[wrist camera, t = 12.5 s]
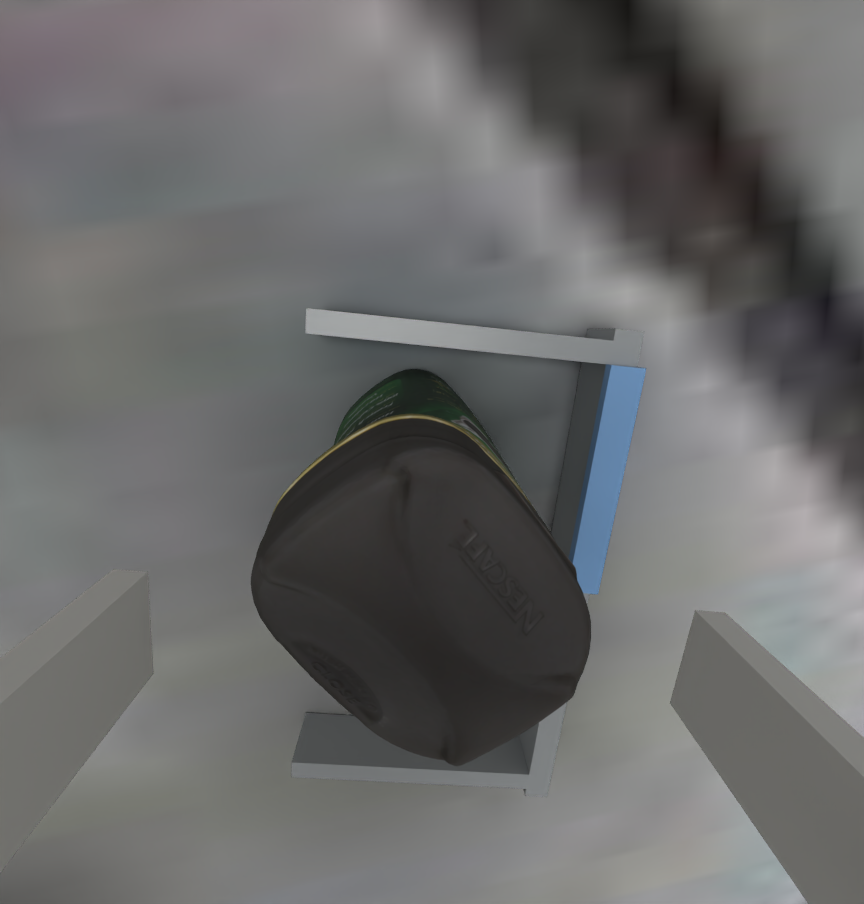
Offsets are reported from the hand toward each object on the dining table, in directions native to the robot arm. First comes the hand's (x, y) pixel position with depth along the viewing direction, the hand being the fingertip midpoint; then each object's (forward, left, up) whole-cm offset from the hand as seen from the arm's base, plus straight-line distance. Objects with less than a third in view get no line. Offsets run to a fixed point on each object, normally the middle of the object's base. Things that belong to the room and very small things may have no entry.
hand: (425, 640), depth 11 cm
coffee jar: (0, 0, -19) cm, 19 cm away
